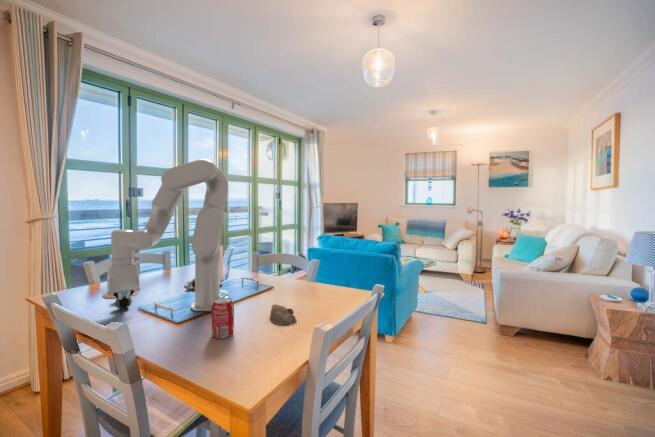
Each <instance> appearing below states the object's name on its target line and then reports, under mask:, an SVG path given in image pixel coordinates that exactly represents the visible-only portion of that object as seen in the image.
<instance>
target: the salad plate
mask: <svg viewBox="0 0 655 437" xmlns="http://www.w3.org/2000/svg"><path fill="white" fill-rule="evenodd" d="M222 285H223V283H222V284H220V287H221V286H222ZM184 286H185V289H186V290H188V291H193V292H195V277H194V278H192V280H191V281H186V282H185V283H184Z"/></svg>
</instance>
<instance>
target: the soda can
mask: <svg viewBox="0 0 655 437" xmlns="http://www.w3.org/2000/svg"><path fill="white" fill-rule="evenodd" d="M234 330H235V304H234V302H233V298H232V297H229V296H223V297H221V298H217V299H215V300H214V303H213V305H212V311H211V334H212V336H213V337H214V338H216V339H220V340H222V339H227V338H229V337H231V335H233V333H234Z"/></svg>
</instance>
